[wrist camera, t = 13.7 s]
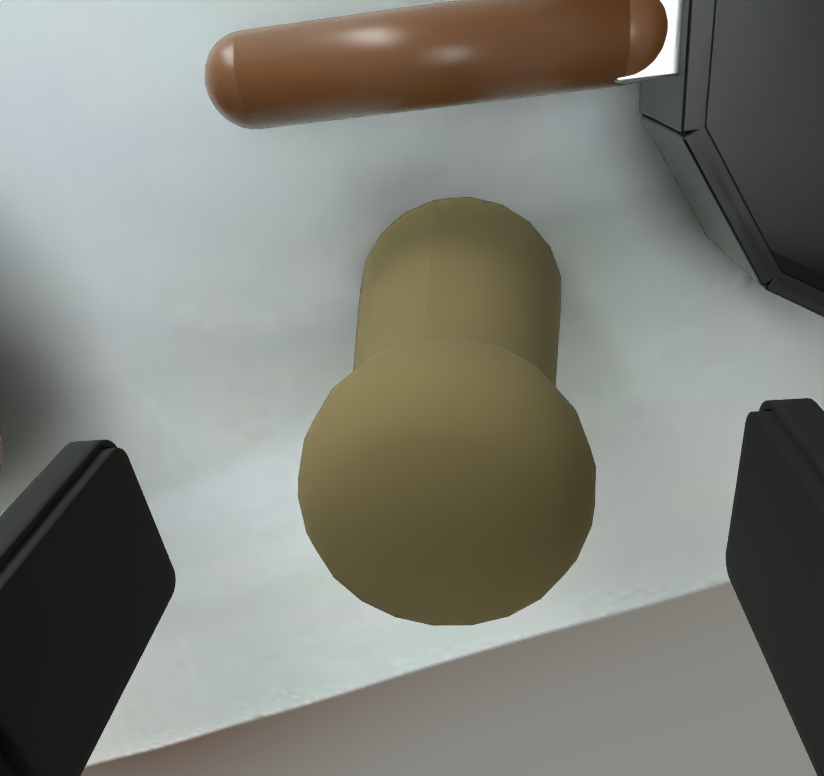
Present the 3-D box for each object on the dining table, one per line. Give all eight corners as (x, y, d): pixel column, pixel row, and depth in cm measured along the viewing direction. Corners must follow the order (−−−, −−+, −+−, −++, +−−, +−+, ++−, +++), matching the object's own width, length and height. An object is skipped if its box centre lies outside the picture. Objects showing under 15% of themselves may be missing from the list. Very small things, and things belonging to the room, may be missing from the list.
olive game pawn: (546, 395, 21) (600, 698, 12) (359, 379, 22) (260, 660, 12) (577, 204, 18) (686, 397, 9) (361, 189, 19) (234, 358, 9)
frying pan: (303, 335, 21) (267, 398, 17) (168, -305, 14) (62, -420, 10) (1208, 267, 18) (1396, 328, 14) (1612, -617, 11) (2180, -941, 7)
